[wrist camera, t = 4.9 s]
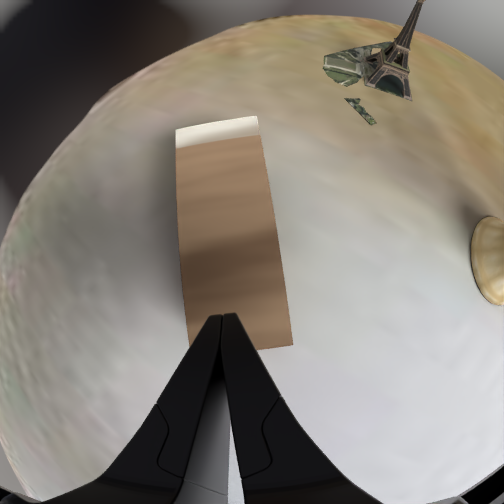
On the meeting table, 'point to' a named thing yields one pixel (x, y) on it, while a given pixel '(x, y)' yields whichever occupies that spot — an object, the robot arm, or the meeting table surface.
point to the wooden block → (229, 231)
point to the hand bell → (489, 258)
